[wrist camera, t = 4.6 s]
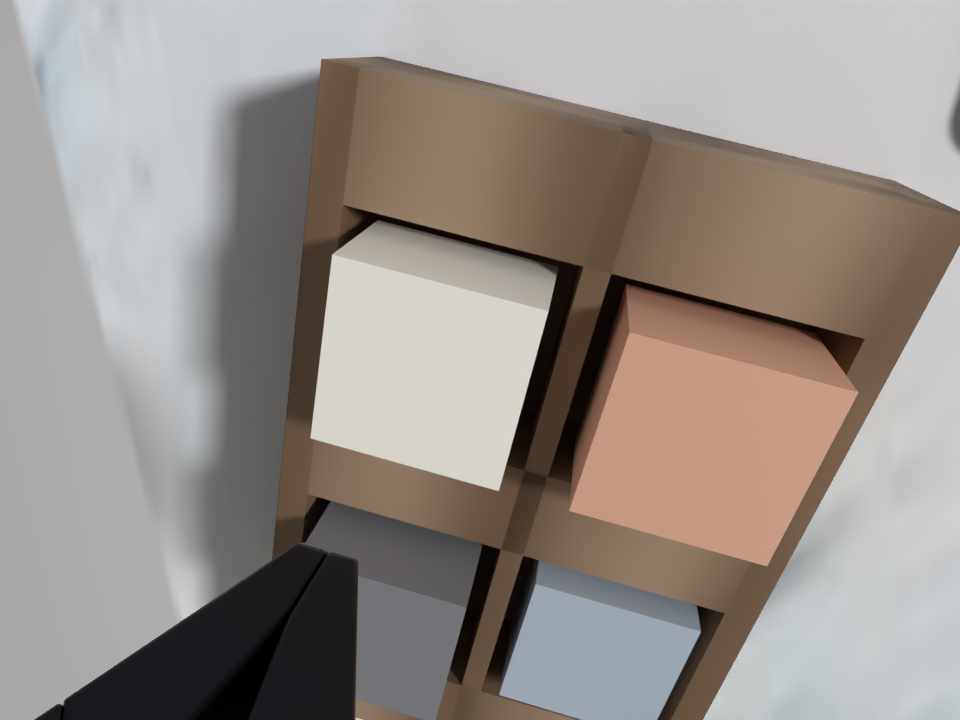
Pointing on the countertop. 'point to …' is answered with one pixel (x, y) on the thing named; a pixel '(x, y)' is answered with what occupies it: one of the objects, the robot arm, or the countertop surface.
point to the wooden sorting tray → (590, 324)
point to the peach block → (705, 424)
